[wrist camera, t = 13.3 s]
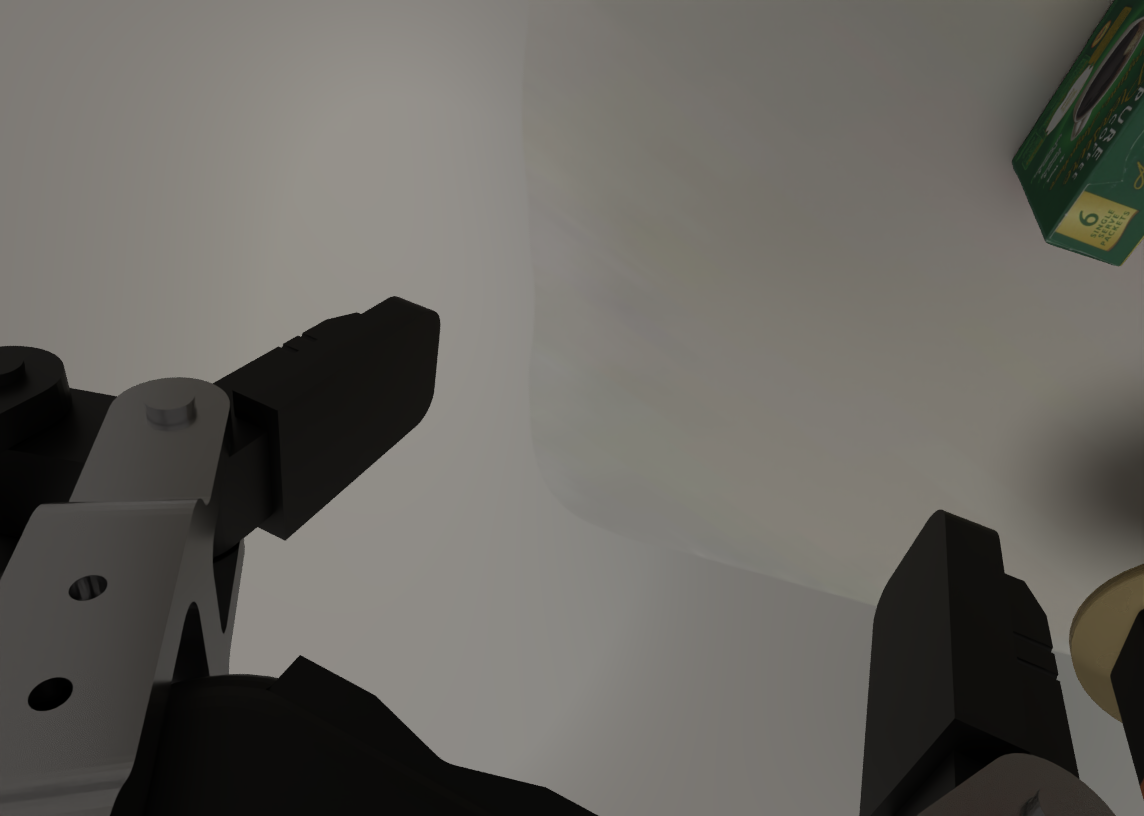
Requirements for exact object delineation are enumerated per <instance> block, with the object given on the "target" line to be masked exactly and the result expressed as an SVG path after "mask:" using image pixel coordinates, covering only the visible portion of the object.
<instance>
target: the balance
mask: <svg viewBox="0 0 1144 816" xmlns="http://www.w3.org/2000/svg"><path fill="white" fill-rule="evenodd" d="M1142 609H1144V564H1142V565H1139V566H1137V567H1134V568H1132V569H1129V570H1127V571H1124V572H1122V573H1121V574H1119V575H1117V576H1115V577H1113V578H1111V579H1110V580H1108V581H1107V582H1105V583H1104V584H1102V585H1101V586H1100V587H1098V588H1097V589H1096V590H1095V591H1094V592H1093V593H1092V594H1090V595H1089V596H1088V597H1087V598H1086V599H1085V601H1084V602H1083V603H1082V605H1081V606H1080V607H1079V609H1078V611H1077V613H1076V614H1075V616H1074V618H1073V621H1072V624H1071V628H1070V634H1069V646H1070V653H1071V657H1072V662H1073V666H1074V669H1075V672H1076V675H1077V677H1078V680H1079V681H1080V683H1081V685H1082V686H1083V688H1084V690H1085V691H1086V692H1087V694H1088V695H1089V696H1090V697H1091V699H1092V700H1093V701H1095V703H1096V704H1098V705H1099V706H1100V707H1101V708H1102V709H1103V710H1104V711H1106V712H1107V713H1108V714H1109V715H1111V716H1112V717H1114V718H1115V719H1117V720H1118V721H1120V722H1122V719H1121V716H1120V712H1119V708H1118V705H1117V701H1116V698H1115V694H1114V690H1113V687H1112V683H1111V678H1110V674H1111V671H1112V669H1113V667H1114V665H1115V662H1116V660H1117V658H1118V656H1119V654H1120V651H1121V649H1122V647H1123V645H1124V643H1125V640H1126V638H1127V636H1128V634H1129V632H1130V629H1131V627H1132V625H1133V623H1134V621H1135V618H1136V616H1137V614H1138V613H1139V611H1141V610H1142Z"/></svg>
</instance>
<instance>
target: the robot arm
mask: <svg viewBox="0 0 1144 816" xmlns="http://www.w3.org/2000/svg"><path fill="white" fill-rule="evenodd" d="M439 334H440V318H439V315H438V314H437V313H436V312H435V311H433V310H430V309H427V308H425V307H423V306H420V305H417V304H414V303H412V302H410V301H407V300H405V299H402V298H399V297H396V296H393V297H390V298H388V299H386V300H384V301H383V302H381V303H379V304H378V305H376V306H374V307H373V308H371V309H369V310H367V311H366V312H364V313H362V314H360V313H352V314H349V315H344V316H340V317H336V318H331V319H327V320H325V321H323V322H321V323H319V324H318V325H316V326H314V327H312V328H311V329H309V330H307V331H305V332H303V334H302V336H301V337H300V336H296V337H295V338H293V339H291V340H289V341H287V342H286V343H284V344H283V347H282V348H281V347H277V348H275V349H273V350H271V351H270V352H268V353H266V354H264V355H263V356H261V357H259V358H257V359H255V360H254V361H252V362H250V363H248V364H247V365H245V366H243V367H242V368H239V369H238V370H236V371H234V372H232V373H231V374H229V375H227V376H225V377H223V378H222V379H220V380H218V381H216V382H215V383H213V384H212V383H209V382H207V381H203V380H199V379H193V378H181V377H177V378H164V379H157V380H152V381H148V382H145V383H142V384H139V385H136V386H134V387H131V388H130V389H128V390H126V391H124V392H123V393H122V394H120V395H119V396H118V397H117V396H111V395H106V394H100V393H95V392H89V391H84V390H78V389H72V388H69V385H68V381H67V377H66V373H65V369H64V365H63V362H62V361H61V360H60V358H58V357H57V356H56V355H55V354H52V353H51V352H49V351H45V350H42V349H38V348H33V347H24V346H2V347H0V816H598V815H596V814H594V813H592V812H590V811H589V810H587V809H585V808H583V807H581V806H579V805H577V804H576V803H574V802H572V801H570V800H568V799H566V798H564V797H563V796H561V795H559V794H557V793H555V792H553V791H551V790H550V789H548V788H546V787H542V786H538V785H534V784H529V783H525V782H521V781H517V780H513V779H509V778H505V777H500V776H496V775H492V774H488V773H484V772H480V771H475V770H472V769H468V768H464V767H459V766H455V765H452V764H449V763H447V762H445V761H443V760H442V759H440V758H439V757H438V756H437V755H436V754H435V753H434V752H433V751H432V750H431V749H429V747H428V746H426V745H425V744H424V743H423V742H422V741H421V740H420V739H419V738H418V737H417V736H416V735H415V734H414V733H413V732H412V731H411V730H410V729H409V728H408V727H407V726H406V725H405V724H404V723H403V722H402V721H401V720H400V719H399V718H398V717H397V716H396V715H395V714H394V713H393V712H392V711H391V710H390V709H389V708H388V707H386V706H385V705H384V704H383V703H382V702H381V701H380V700H379V699H378V698H377V697H376V696H375V695H373V694H371V693H370V692H368V691H366V690H364V689H362V688H360V687H358V686H357V685H354V684H353V683H351V682H349V681H347V680H345V679H344V678H342V677H340V676H338V675H336V674H334V673H332V672H331V671H329V670H327V669H325V668H323V667H321V666H319V665H317V664H316V663H314V662H312V661H310V660H308V659H306V658H304V657H303V656H301V655H300V656H299V657H298V658H297V659H296V660H295V661H294V662H293V663H292V664H291V665H290V666H289V668H288V669H287V670H286V671H285V672H284V673H283V674H282V675H281V676H280V677H279V678H274V677H269V676H259V675H250V674H229V657H230V647H231V640H232V634H233V627H234V620H235V613H236V607H237V600H238V593H239V586H240V578H241V573H242V566H243V558H244V550H245V549H244V548H245V546H244V537H245V536H247V535H248V534H249V533H250V532H252V531H253V530H254V529H255V528H257V527H259V528H261V529H263V530H265V531H267V532H269V533H271V534H273V535H275V536H277V537H279V538H281V539H283V540H286V539H288V538H289V537H290V536H291V535H292V534H293V533H294V532H296V530H298V529H299V528H300V527H301V526H302V525H304V524H305V523H306V522H307V521H308V520H309V519H310V518H312V517H313V516H314V515H315V514H316V513H317V512H318V511H320V510H321V509H322V508H323V507H324V506H325V505H326V504H328V503H329V502H330V501H331V500H332V499H333V498H334V497H336V496H337V495H338V494H339V493H340V492H341V491H342V490H344V489H345V488H346V487H347V486H348V485H349V484H350V483H351V482H353V481H354V480H355V479H356V478H357V477H358V476H359V475H361V474H362V473H363V472H364V471H365V470H366V469H368V468H369V467H370V466H371V465H372V464H373V463H374V462H376V461H377V460H378V459H379V458H380V457H381V456H382V455H384V454H385V453H386V452H387V451H388V450H389V449H390V448H392V447H393V446H394V445H395V444H396V443H397V442H399V441H400V440H401V439H402V438H403V437H404V436H405V435H406V434H408V433H409V432H410V431H411V430H412V429H413V428H415V427H416V426H417V425H418V424H419V423H420V422H421V420H422V419H423V418H424V416H425V414H426V413H427V411H428V409H429V407H430V404H431V401H432V398H433V394H434V387H435V377H436V366H437V356H438V346H439ZM1052 648H1053V645H1052V640H1051V635H1050V630H1049V625H1048V620H1047V616H1046V614H1045V612H1044V611H1043V609H1042V608H1041V606H1040V605H1039V603H1038V602H1037V600H1036V598H1035V597H1034V595H1033V594H1032V592H1031V591H1030V589H1029V588H1028V586H1027V584H1026V583H1025V581H1022V580H1020V579H1017V578H1015V577H1012V576H1010V575H1007V574H1005V573H1004V566H1003V559H1002V552H1001V545H1000V539H999V535H998V533H997V532H996V531H995V530H992V529H990V528H987V527H985V526H982V525H980V524H977V523H974V522H972V521H969V520H967V519H964V518H962V517H959V516H956V515H954V514H951V513H949V512H946V511H944V510H937V511H936V512H935V513H934V514H933V515H932V516H931V517H930V518H929V520H928V521H927V522H926V524H925V526H924V527H923V529H922V530H921V532H920V533H919V535H918V536H917V538H916V539H915V541H914V542H913V544H912V546H911V547H910V549H909V550H908V552H907V553H906V555H905V556H904V558H903V559H902V561H901V563H900V564H899V566H898V567H897V569H896V570H895V572H894V573H893V575H892V576H891V578H890V579H889V581H888V583H887V584H886V586H885V588H884V590H883V592H882V595H881V597H880V600H879V602H878V605H877V609H876V613H875V617H874V623H873V636H872V650H871V663H870V676H869V677H870V678H869V690H868V704H867V720H866V732H865V746H864V761H863V774H862V787H861V803H860V815H859V816H1116V815H1115V814H1114V813H1113V812H1112V810H1111V809H1110V808H1109V807H1108V805H1107V804H1106V803H1105V802H1104V801H1103V800H1102V799H1101V798H1100V797H1099V796H1098V795H1097V794H1096V793H1095V792H1094V791H1093V790H1092V789H1091V788H1089V787H1088V786H1087V785H1086V784H1085V783H1084V782H1082V781H1081V780H1080V779H1079V774H1078V769H1077V764H1076V759H1075V754H1074V749H1073V744H1072V739H1071V734H1070V730H1069V724H1068V720H1067V714H1066V710H1065V705H1064V700H1063V695H1062V690H1061V685H1060V681H1058V680H1056V679H1057V676H1058V670H1057V665H1056V660H1055V655H1054V654H1053V653H1051V650H1052Z"/></svg>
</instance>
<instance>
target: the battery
mask: <svg viewBox="0 0 1144 816" xmlns="http://www.w3.org/2000/svg"><path fill="white" fill-rule="evenodd" d="M1110 678H1111V683H1112V687H1113V690H1114V694H1115V698H1116V701H1117V705H1118V708H1119V712H1120V716H1121V719H1122V723H1123V726H1124V730H1125V733H1126V737H1127V741H1128V744H1129V748H1130V752H1131V755H1132V759H1133V763H1134V766H1135V770H1136V773H1137V777H1138V781H1139V785H1140V788H1141V792H1142V795H1143V799H1144V609H1142V610H1141V611H1139V613H1138V614H1137V616H1136V618H1135V621H1134V623H1133V625H1132V627H1131V629H1130V632H1129V634H1128V636H1127V638H1126V640H1125V643H1124V645H1123V647H1122V649H1121V651H1120V654H1119V656H1118V658H1117V660H1116V662H1115V665H1114V667H1113V669H1112V671H1111V674H1110Z"/></svg>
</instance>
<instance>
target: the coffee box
mask: <svg viewBox="0 0 1144 816" xmlns="http://www.w3.org/2000/svg"><path fill="white" fill-rule="evenodd" d="M1012 165H1013V169H1014V171H1015V173H1016V174H1017V175H1018V178H1019V180H1020V182H1021V185H1022V187H1023V189H1024V191H1025V194H1026V196H1027V199H1028V202H1029V204H1030V206H1031V209H1032V211H1033V213H1034V216H1035V219H1036V221H1037V223H1038V225H1039V228H1040V230H1041V233H1042V235H1043V237H1044V239H1045V241H1046V243H1048V244H1050V245H1053V246H1056V247H1059V248H1063V249H1066V250H1069V251H1072V252H1075V253H1078V254H1081V255H1084V256H1087V257H1091V258H1093V259H1096V260H1099V261H1103V262H1106V263H1108V264H1111V265H1115V266H1121V265H1122V264H1123V263H1124V262H1125V261H1126V260H1127V258H1128V257H1129V256H1130V254H1131V253H1132V252H1133V251H1134V249H1135V248H1136V247H1137V246H1138V245H1139V243H1140V242H1141V241H1142V240H1143V238H1144V0H1114V2H1113V3H1112V5H1111V6H1110V8H1109V10H1108V11H1107V13H1106V14H1105V16H1104V17H1103V19H1102V20H1101V22H1100V23H1099V24H1098V26H1097V28H1096V29H1095V31H1094V32H1093V34H1092V35H1091V37H1090V39H1089V40H1088V42H1087V44H1086V46H1085V48H1084V49H1083V51H1082V52H1081V54H1080V56H1079V57H1078V59H1077V60H1076V62H1075V63H1074V65H1073V66H1072V68H1071V69H1070V71H1069V73H1068V74H1067V76H1066V77H1065V79H1064V80H1063V82H1062V83H1061V85H1060V87H1059V88H1058V90H1057V91H1056V93H1055V94H1054V96H1053V97H1052V99H1051V100H1050V102H1049V104H1048V105H1047V107H1046V108H1045V110H1044V112H1043V113H1042V115H1041V116H1040V118H1039V119H1038V121H1037V123H1036V124H1035V126H1034V127H1033V129H1032V130H1031V132H1030V134H1029V135H1028V137H1027V138H1026V140H1025V141H1024V143H1023V144H1022V146H1021V148H1020V149H1019V151H1018V152H1017V154H1016V155H1015V157H1014V159H1013V160H1012Z"/></svg>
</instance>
